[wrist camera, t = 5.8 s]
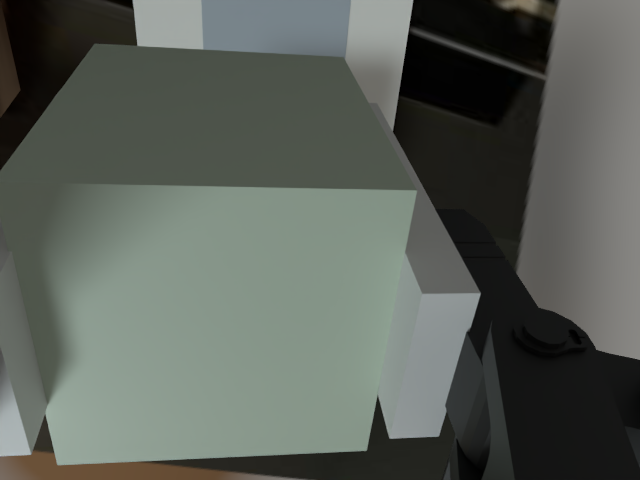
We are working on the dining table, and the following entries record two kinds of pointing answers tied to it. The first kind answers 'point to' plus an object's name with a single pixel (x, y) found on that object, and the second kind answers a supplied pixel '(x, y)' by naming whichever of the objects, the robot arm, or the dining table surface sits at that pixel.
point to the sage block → (207, 254)
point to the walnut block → (6, 69)
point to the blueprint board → (291, 34)
